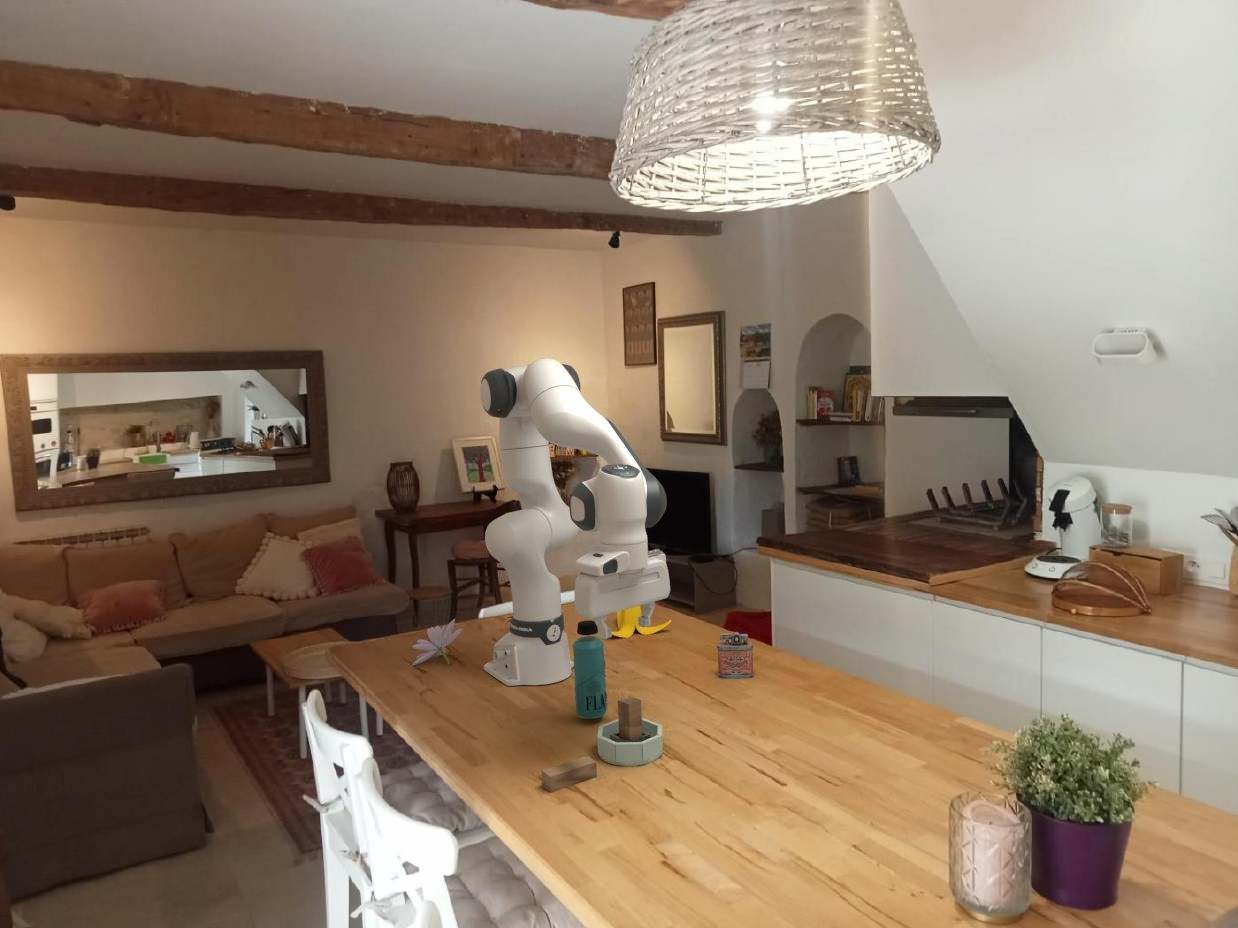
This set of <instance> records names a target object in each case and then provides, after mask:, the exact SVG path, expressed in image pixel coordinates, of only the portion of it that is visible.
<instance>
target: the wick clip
mask: <svg viewBox="0 0 1238 928" xmlns="http://www.w3.org/2000/svg"><path fill="white" fill-rule="evenodd" d="M649 738H651V736H650V734H649V733H646V732H643V731H642V736H641V737H639V738H636V739H634V740H632V741H627V740H625V739H623V738H620V737H619V732H616V733H614V734H611V735H610V740H612V741H615V742H617V743H618V742H642V741H644V740H647V739H649Z"/></svg>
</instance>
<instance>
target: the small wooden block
mask: <svg viewBox="0 0 1238 928" xmlns="http://www.w3.org/2000/svg"><path fill="white" fill-rule="evenodd" d="M595 778H598V770H597V761H596V760H594V759H593V758H591V757H589V756H588V755H585V756H582V757H579V758H576V759H573V760H570V761H567V762H564V763H561V764H558V765H556V766H555V765H554V766H552V767H549V768H546V769H542V770H541V781H542V782H541V784H542V787H543V788H545V789H546V790H547V791H548V792H549V793H554V792H557V791H561V790H564V789H566V788H569V787H572V786H575V785H578V784H581V783H584V782H586V781H589V780H592V779H595Z"/></svg>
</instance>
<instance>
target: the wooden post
mask: <svg viewBox="0 0 1238 928" xmlns="http://www.w3.org/2000/svg"><path fill="white" fill-rule="evenodd" d="M642 714H643V712H642V700H641V699H640V698H637V697H635V696H632V695H629V696H625V697H623V698H620V699H618V700H617V719H618V722H619V737H620V738H623V739H625V740H627V741H632V740H634V739H636V738H639V737H641V736H642V718H643V716H642Z"/></svg>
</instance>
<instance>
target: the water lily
mask: <svg viewBox="0 0 1238 928" xmlns="http://www.w3.org/2000/svg"><path fill="white" fill-rule="evenodd" d="M455 623H456V618H453V619H452V620H451V621H450V622H449V623H448V624H447V625H443V627H442V628H441V627H440V626H439V625H436V626H435V627H433V626H431V627H430V628H427V630H426V632H427V633H426V634H427V637H428V638H429V639H428V640H426V639H418V640H416V642H417V644H413V645H412V648H413V649H416V650H419V651H426V652H423V653H420V654H418V655H417V656H416V657H415V659H416V660H415V661H413V663H412V665H411V667H414V666H416V665H419V664H422V663H423V662H425V661H427V660H429V659H430V658H431V657H432V656H434V655H435V654H436V655H437V656H442V657H443V658H444V660H445V661H446V663H447V665H452V664H451V661H450V660H449V658H448V656H447V655H446V652H447V648H446V647H447V646H448V645H450V644H451V643H453V642H454V640H456V639H457V638H458V636H459V635H460V634H461V632H462V631H463V630H464V628H459V629H457V630H455V631H453V629H454V626H455ZM452 631H453V632H452Z"/></svg>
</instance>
